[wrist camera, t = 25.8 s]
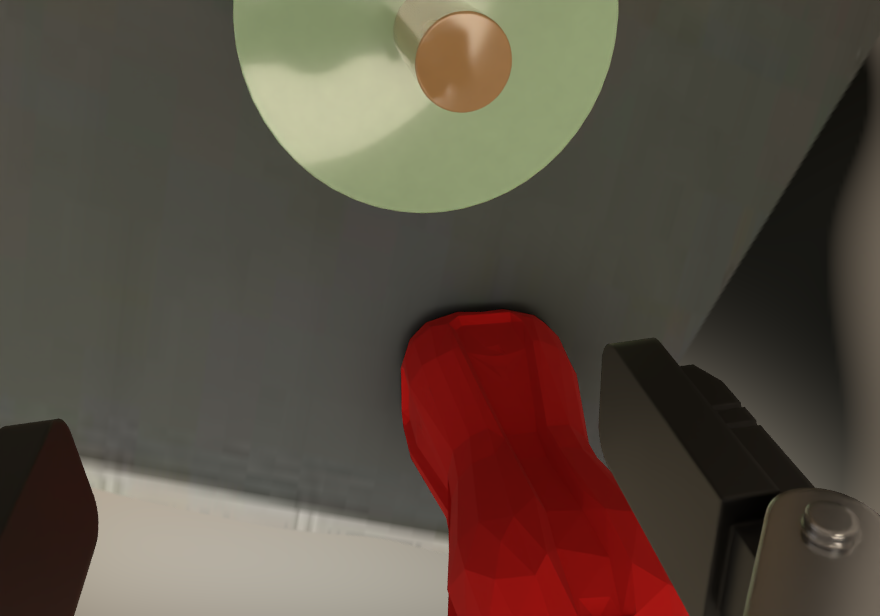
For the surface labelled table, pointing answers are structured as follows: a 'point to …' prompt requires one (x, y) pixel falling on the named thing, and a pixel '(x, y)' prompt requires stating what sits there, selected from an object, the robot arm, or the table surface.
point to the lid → (424, 90)
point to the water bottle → (521, 476)
